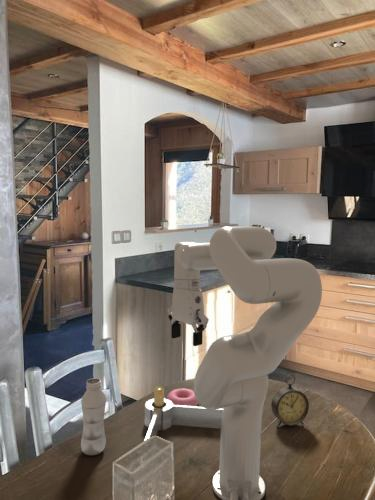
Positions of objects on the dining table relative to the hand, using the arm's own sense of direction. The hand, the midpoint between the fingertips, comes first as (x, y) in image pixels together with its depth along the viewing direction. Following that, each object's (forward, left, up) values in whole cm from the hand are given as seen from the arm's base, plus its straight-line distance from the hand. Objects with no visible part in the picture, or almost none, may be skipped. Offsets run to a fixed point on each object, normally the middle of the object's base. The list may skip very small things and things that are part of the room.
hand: (186, 341), depth 122 cm
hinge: (-7, 0, -27) cm, 28 cm away
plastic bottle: (-16, +23, -27) cm, 39 cm away
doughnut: (+14, +2, -27) cm, 31 cm away
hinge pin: (+1, +8, -27) cm, 28 cm away
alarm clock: (+6, -32, -27) cm, 42 cm away
